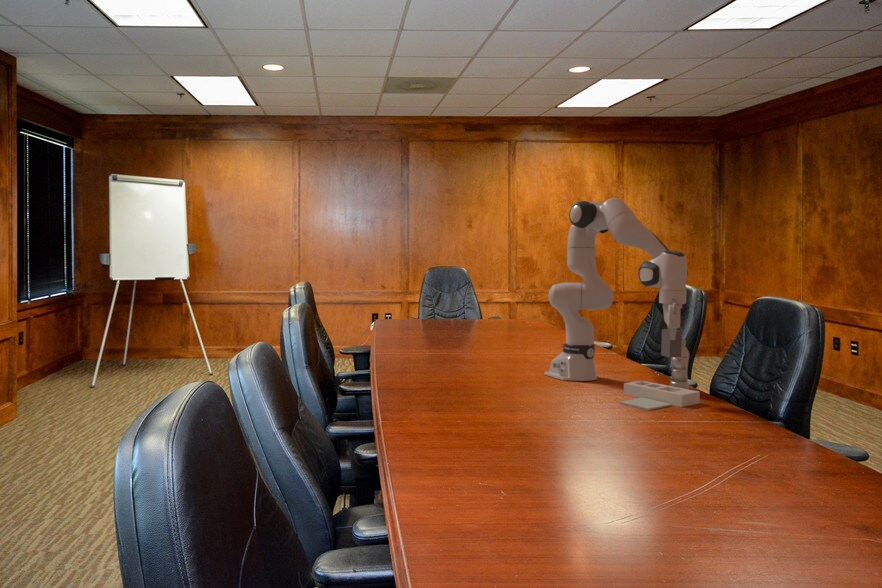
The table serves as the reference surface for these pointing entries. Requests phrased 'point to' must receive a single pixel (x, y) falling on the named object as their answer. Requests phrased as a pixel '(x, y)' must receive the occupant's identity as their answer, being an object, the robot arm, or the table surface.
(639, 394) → the grey holed block
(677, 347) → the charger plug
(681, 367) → the plastic bottle
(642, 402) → the mat
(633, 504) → the table surface
